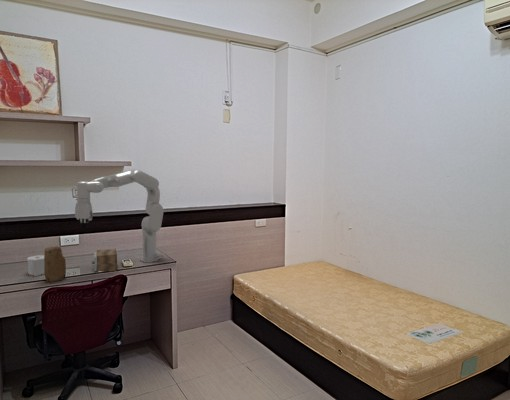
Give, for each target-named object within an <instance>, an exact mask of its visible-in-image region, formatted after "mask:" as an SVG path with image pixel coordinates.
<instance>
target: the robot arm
mask: <svg viewBox="0 0 510 400" xmlns="http://www.w3.org/2000/svg"><path fill="white" fill-rule="evenodd" d="M132 183H137V184H139V185H141V186H142V187H143V188H145V190H146V193H147V197H146V203H145V212H146V214H147V215H148V216H145V217H144V218H142V221H141V231H142V256H141V257H140V261H141V262H142V263H143V262H144V263H153V261H154V262H158V260H159V258H163V257H164V254H163V253H157V232H158V231H160V230H161V227H162V222H163V218H164V217H163V216H164V206H163V205H162V204H160V199H161V191H160V188H159V186H160V182H159V180H158V179H157V178H155V177H154V176H152V175H149V174H148V173H146V172H145V171H142V170H140V169H129V170H126V171H124V172H119V173H116V174H115V173H114V174H111V175H107V176H102V177H98V178H95V179H92V180H90V181H85V180H82V181H78V182H77V183H76V198H75V201H77V202H76V203H75V207H74V217H75V218H76V220H78V221H79V222H80V224H81V230H86V229H88V223H89V222H90V221H92V220H93V214H94V213H93V206H92V202H91V193H95V194H99V193H102V192H103V190H104V189H108V188H118V187H122V186H126V185H128V184H129V185H130V184H132Z"/></svg>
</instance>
